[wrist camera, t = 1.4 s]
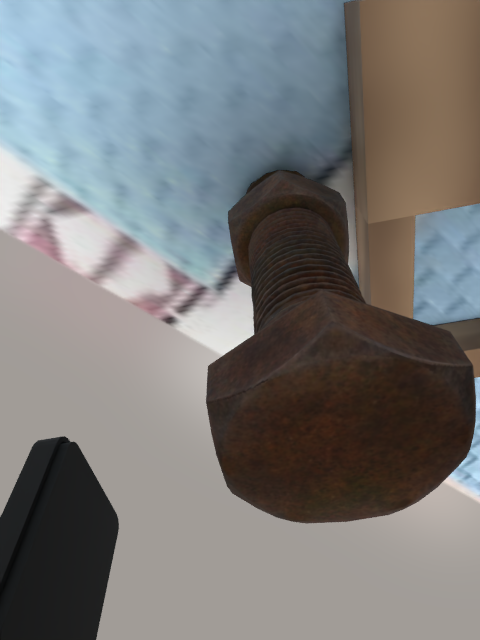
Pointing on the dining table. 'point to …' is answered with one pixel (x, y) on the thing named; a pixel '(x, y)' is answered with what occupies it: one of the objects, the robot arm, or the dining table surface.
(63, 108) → the dining table surface
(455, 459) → the bolt
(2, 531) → the robot arm
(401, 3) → the wooden peg holder
